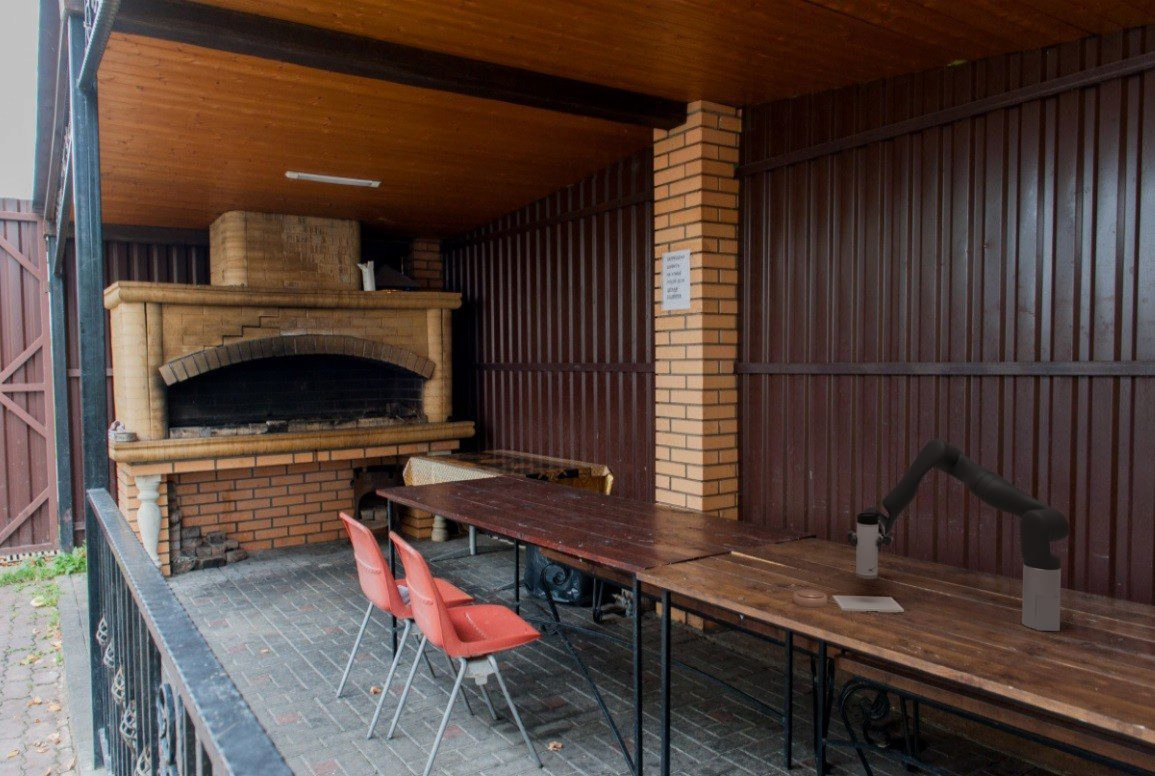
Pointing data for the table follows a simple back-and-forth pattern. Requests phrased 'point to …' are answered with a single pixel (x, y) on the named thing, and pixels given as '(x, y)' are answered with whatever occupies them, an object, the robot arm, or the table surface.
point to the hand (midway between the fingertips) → (866, 542)
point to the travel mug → (867, 545)
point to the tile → (867, 603)
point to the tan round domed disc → (810, 598)
